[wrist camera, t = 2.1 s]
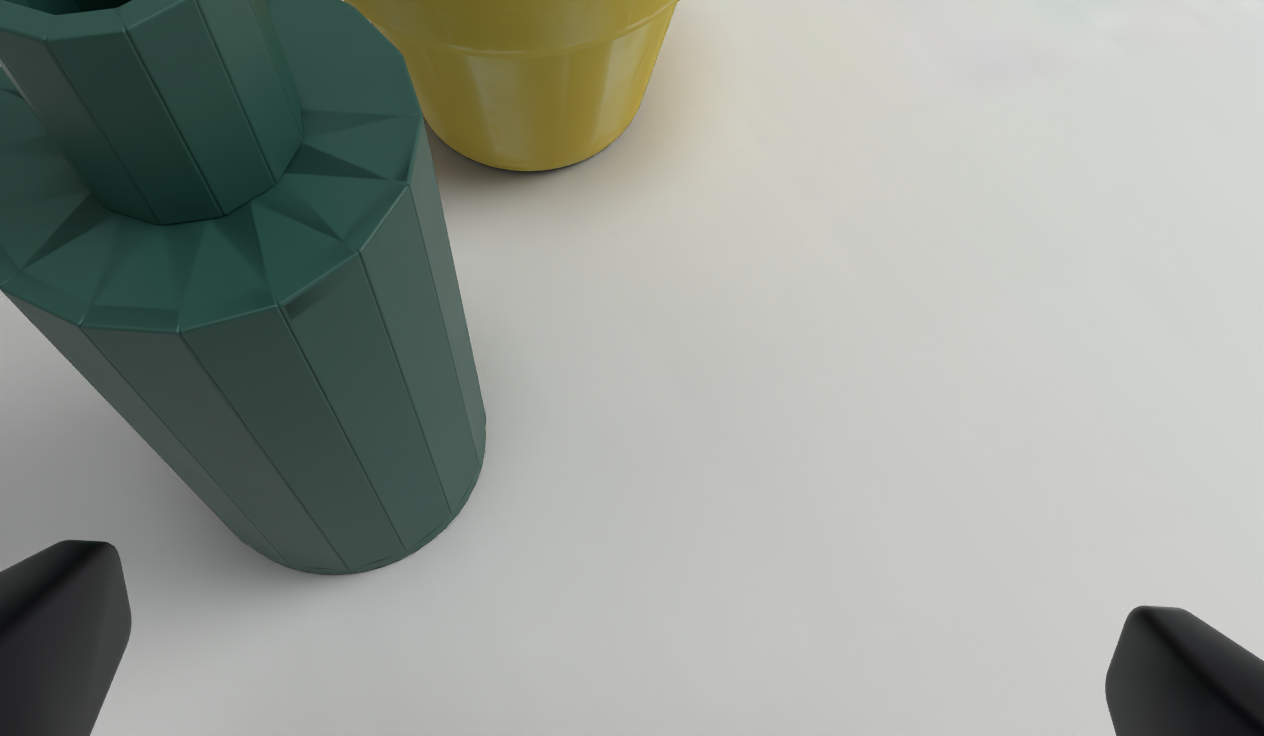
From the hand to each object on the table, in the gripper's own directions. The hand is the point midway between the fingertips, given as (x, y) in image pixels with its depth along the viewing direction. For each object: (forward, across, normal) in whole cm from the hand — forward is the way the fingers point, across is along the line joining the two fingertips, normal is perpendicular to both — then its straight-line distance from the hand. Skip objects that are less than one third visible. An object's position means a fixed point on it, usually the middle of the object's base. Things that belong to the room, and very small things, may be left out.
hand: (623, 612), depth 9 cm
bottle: (+14, +7, +7) cm, 18 cm away
